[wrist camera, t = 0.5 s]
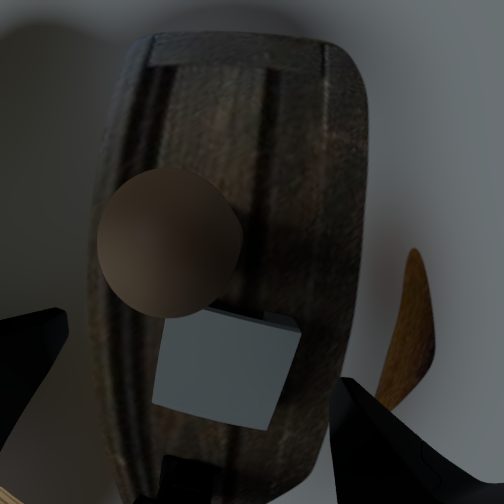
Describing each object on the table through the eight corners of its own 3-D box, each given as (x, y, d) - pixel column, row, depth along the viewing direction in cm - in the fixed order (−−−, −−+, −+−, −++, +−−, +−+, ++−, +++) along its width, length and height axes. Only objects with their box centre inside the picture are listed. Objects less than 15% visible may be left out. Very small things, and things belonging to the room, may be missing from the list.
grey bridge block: (263, 404, 24) (266, 430, 20) (164, 380, 24) (151, 402, 20) (292, 317, 23) (301, 333, 19) (181, 288, 23) (169, 299, 19)
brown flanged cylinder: (232, 283, 23) (218, 335, 11) (161, 264, 23) (87, 293, 11) (251, 210, 23) (257, 187, 11) (179, 192, 23) (117, 156, 11)
